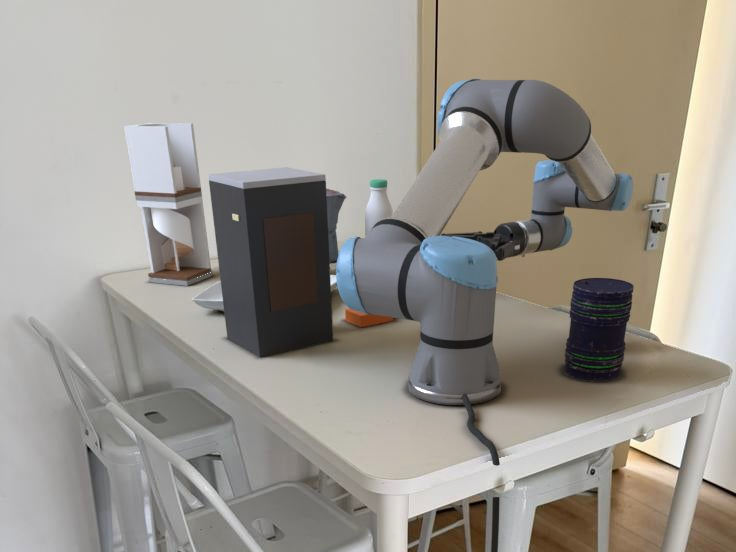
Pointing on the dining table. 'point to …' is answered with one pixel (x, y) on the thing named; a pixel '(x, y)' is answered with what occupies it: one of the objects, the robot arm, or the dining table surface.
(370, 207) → the milk bottle
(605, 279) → the dark blue cylinder
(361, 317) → the key
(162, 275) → the white tall stand
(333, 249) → the moka pot
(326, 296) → the tall dark grey cabinet
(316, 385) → the dining table surface
